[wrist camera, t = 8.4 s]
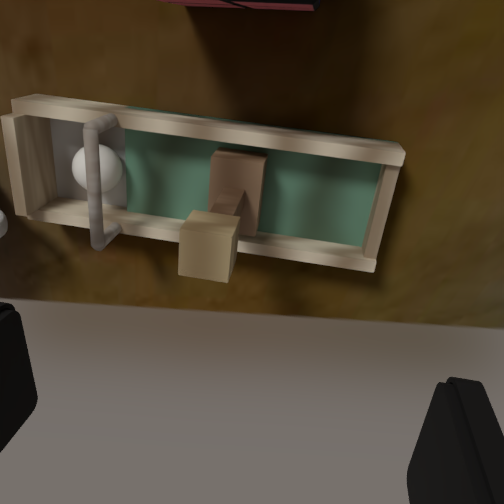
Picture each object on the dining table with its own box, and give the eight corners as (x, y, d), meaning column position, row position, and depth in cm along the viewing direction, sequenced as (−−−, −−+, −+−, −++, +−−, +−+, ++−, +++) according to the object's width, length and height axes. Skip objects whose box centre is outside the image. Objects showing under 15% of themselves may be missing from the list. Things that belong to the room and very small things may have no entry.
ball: (110, 137, 39) (129, 149, 36) (112, 181, 41) (130, 195, 38) (63, 140, 36) (79, 153, 34) (67, 186, 38) (83, 202, 36)
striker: (267, 153, 35) (243, 213, 24) (259, 222, 38) (234, 305, 27) (219, 147, 36) (171, 202, 24) (214, 215, 38) (169, 294, 27)
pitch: (397, 142, 35) (416, 168, 28) (369, 253, 40) (379, 298, 33) (36, 93, 37) (-25, 107, 30) (49, 204, 42) (-2, 237, 35)
